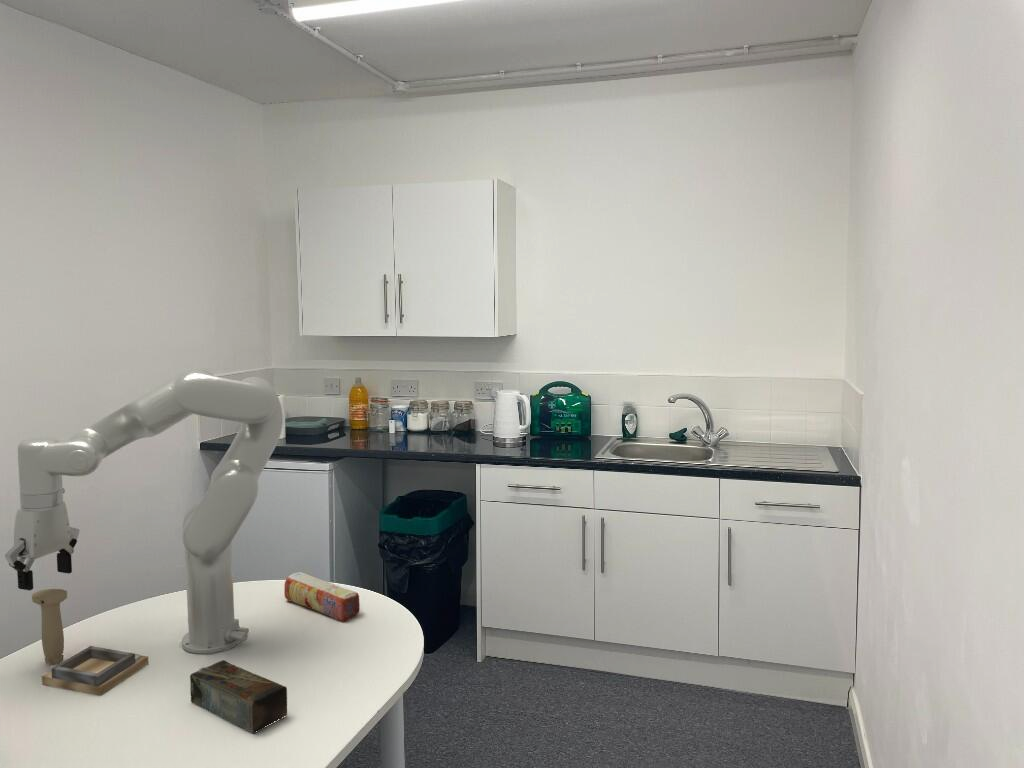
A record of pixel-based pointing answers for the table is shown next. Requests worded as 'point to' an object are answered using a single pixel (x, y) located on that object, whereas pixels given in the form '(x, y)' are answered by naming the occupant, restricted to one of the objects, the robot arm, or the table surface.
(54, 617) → the handle
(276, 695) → the beverage carton
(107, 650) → the wooden tray
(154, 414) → the robot arm
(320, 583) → the snack package
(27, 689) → the table surface
